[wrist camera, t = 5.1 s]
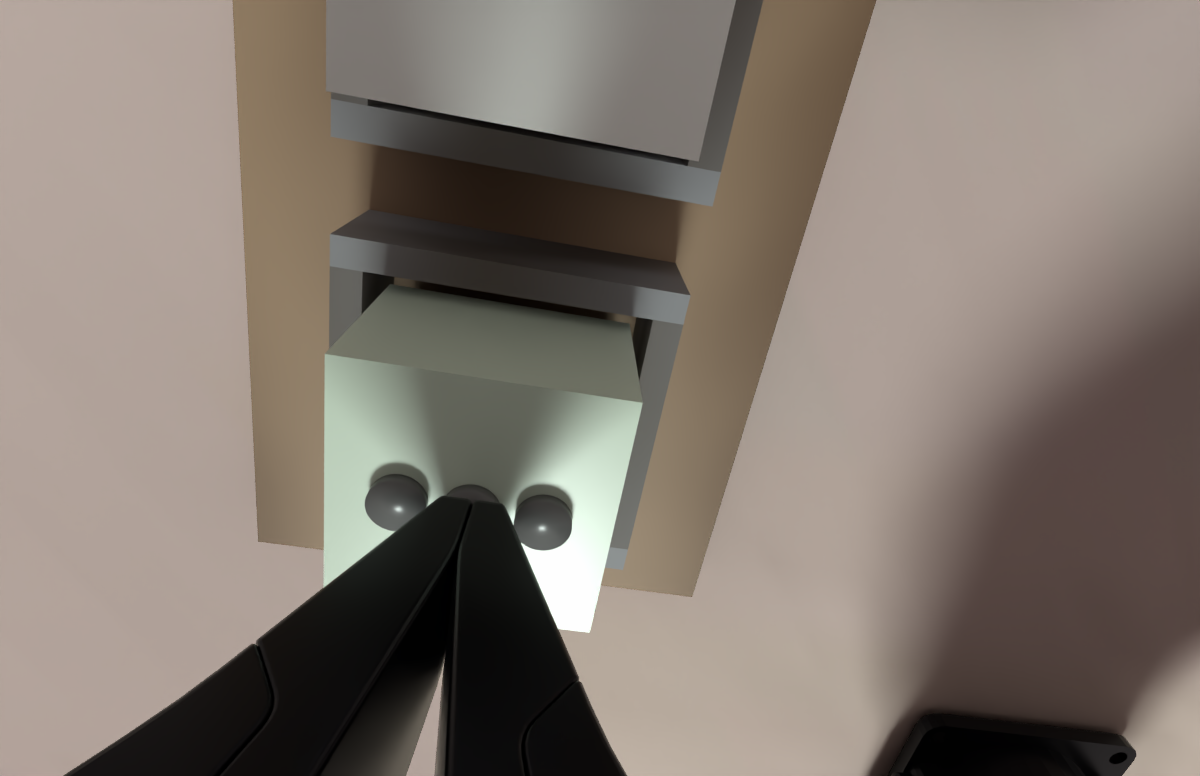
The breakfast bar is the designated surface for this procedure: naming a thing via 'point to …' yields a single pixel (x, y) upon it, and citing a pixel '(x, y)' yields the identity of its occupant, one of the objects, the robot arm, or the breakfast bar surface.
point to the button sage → (482, 430)
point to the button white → (540, 64)
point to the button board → (536, 249)
